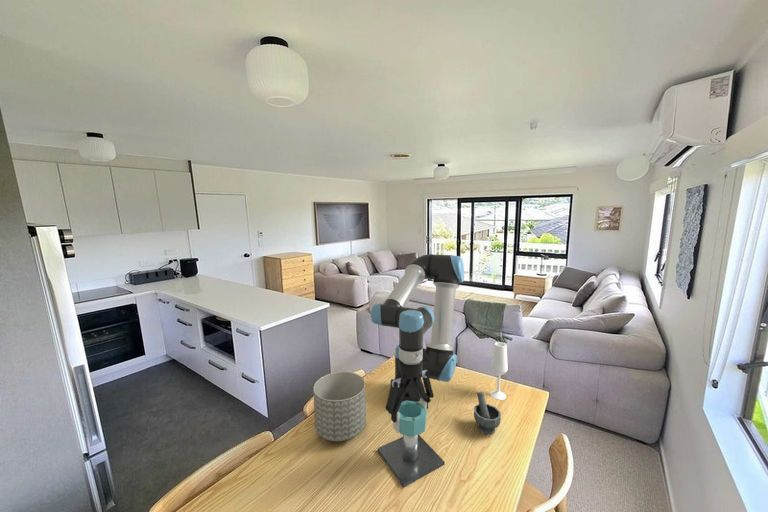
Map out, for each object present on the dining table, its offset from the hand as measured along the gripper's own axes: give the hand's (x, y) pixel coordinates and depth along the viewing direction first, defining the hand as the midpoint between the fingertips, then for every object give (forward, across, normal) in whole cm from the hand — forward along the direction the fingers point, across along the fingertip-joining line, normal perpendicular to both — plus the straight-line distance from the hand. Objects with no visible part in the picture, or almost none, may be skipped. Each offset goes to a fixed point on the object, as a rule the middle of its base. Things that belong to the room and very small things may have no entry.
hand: (410, 423), depth 96 cm
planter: (+13, -15, +24) cm, 31 cm away
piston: (+12, 0, 0) cm, 12 cm away
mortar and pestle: (+12, +33, -3) cm, 36 cm away
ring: (0, 0, 0) cm, 0 cm away
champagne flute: (+12, +54, +8) cm, 56 cm away
